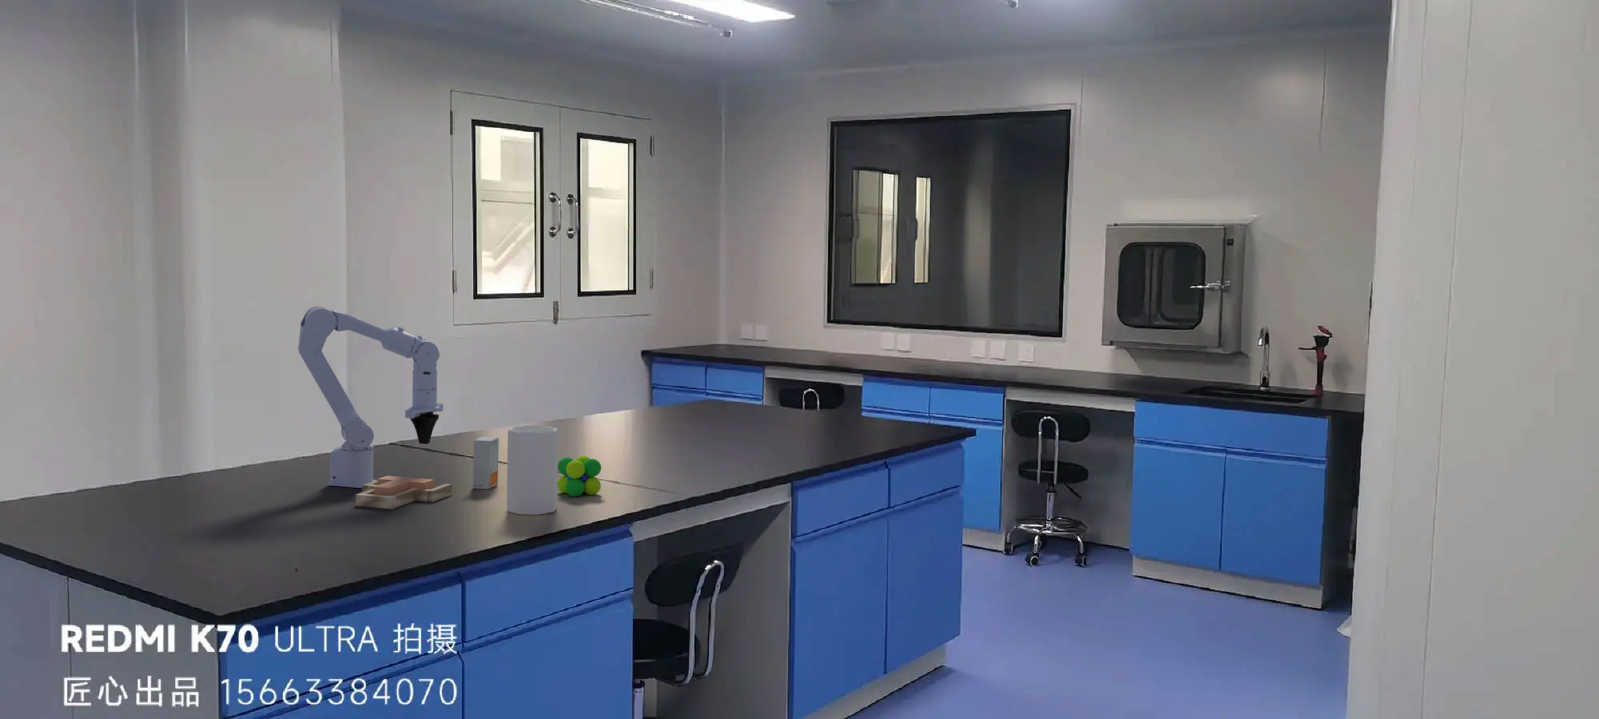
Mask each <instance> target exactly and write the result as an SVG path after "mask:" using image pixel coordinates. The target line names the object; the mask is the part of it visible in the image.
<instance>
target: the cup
mask: <svg viewBox="0 0 1599 719" xmlns="http://www.w3.org/2000/svg"><path fill="white" fill-rule="evenodd" d="M558 431H559V429H558V427H554V426H549V425H539V424H538V425H535V424H534V425H531V424H530V425H529V424H526V425H517V426H511V427H510V428H509V429H508V430H507V459H506V460H507V464H506V465H507V466H506V467H507V468H506V470H507V471H506V472H507V473H506V475H507V476H506V478H507V479H506V511H507V512H508V513H511V514H515V515H519V516H540V515H541V514H542V515H547V514H552V513H554V512H555V511H556V509H557V498H558V496H557V495H558V493H557V490H558V486H557V483H558V444H559V442H558V441H559V440H558V438H559V436H558V434H559V432H558ZM542 515H541V516H542Z"/></svg>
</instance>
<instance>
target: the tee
mask: <svg viewBox="0 0 1599 719" xmlns="http://www.w3.org/2000/svg"><path fill="white" fill-rule="evenodd" d="M377 480H378V485H377V486H374V495H384V496H392V495H394V494H397V493H400V492H403V491H406V490H408V489H411V488H419V489H433V488H435V486H434V485H435V484H434V481H435V479H431V478H419V477H418V478H417V477H408V476H407V477H405V476H396V475H395V476H394V475H392V476H391V475H385V476H382V477H380V478H377Z"/></svg>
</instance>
